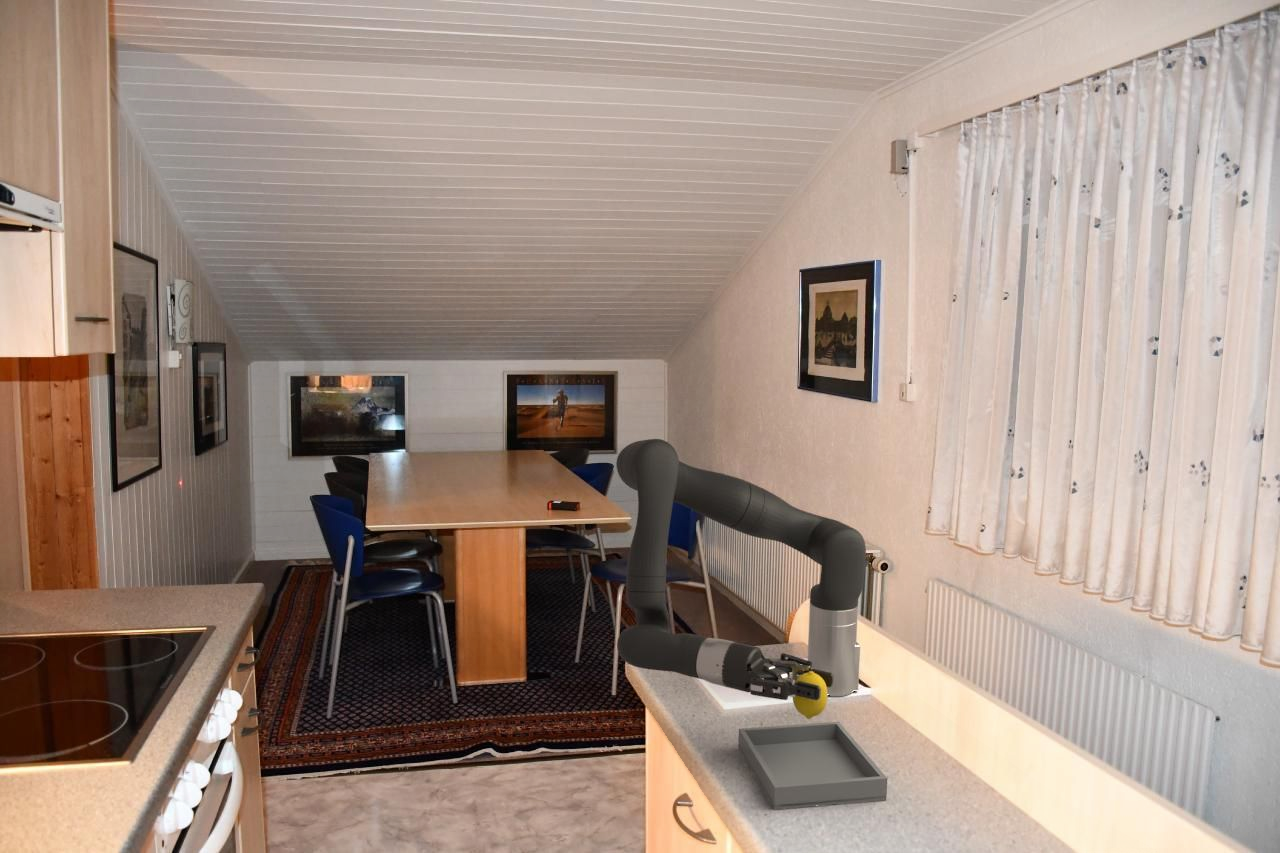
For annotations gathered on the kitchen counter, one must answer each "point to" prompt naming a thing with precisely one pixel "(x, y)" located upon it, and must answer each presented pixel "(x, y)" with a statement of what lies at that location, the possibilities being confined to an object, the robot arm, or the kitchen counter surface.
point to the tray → (811, 765)
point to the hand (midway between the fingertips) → (825, 686)
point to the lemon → (809, 705)
